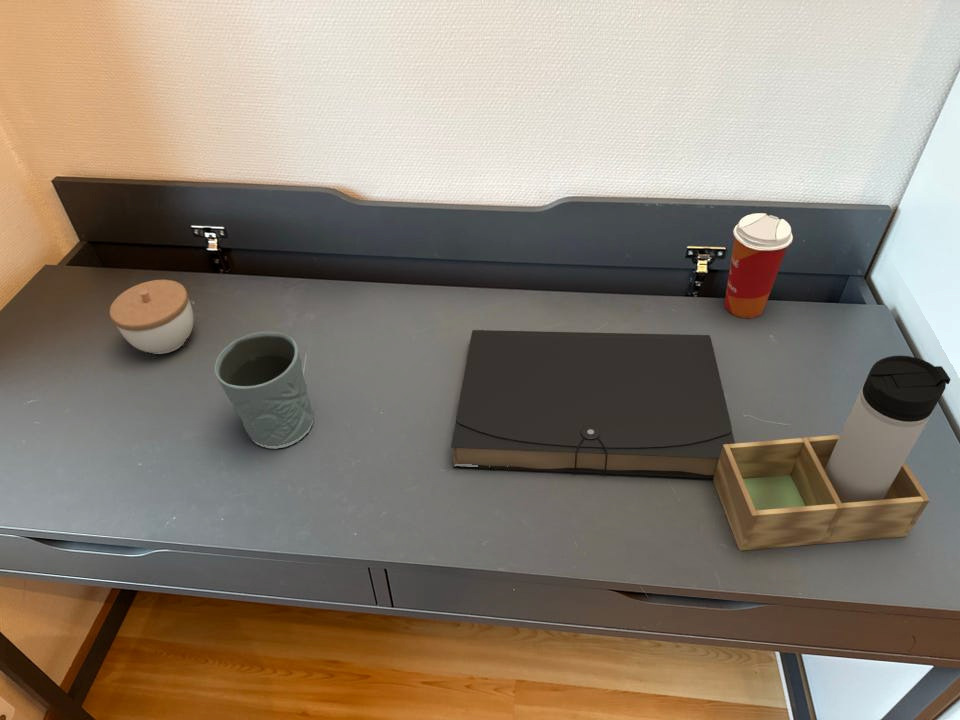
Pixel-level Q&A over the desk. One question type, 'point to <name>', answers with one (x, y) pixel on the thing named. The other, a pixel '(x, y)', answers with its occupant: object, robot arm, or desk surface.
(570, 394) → the file folder
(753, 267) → the paper cup
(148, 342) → the trinket box
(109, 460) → the desk surface
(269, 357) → the green ceramic cup
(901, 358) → the travel mug
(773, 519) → the storage box
